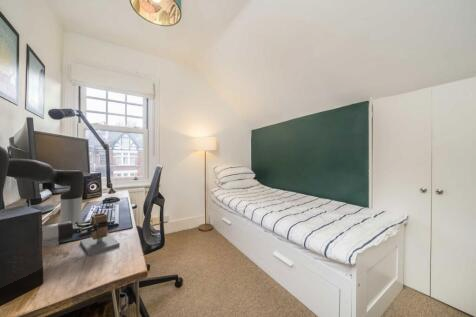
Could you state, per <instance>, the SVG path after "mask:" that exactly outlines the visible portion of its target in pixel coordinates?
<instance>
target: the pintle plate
mask: <svg viewBox="0 0 476 317" xmlns="http://www.w3.org/2000/svg"><path fill="white" fill-rule="evenodd" d="M80 246H81V247H82V248H83V249H84V251H85V253H86V254H87V255H88V257H91V256H94V255H95V256H96V255H98V254H100V253H104V252H106V251H110V250H112V249H116V248H119V247H120V246H121V245H120V242H119V241H118V240H116V238H115V237H113V236H112V235H111V234H110V233H109V232H107V237H103V238H99V239H95V240H94V239H93V238H92V237H88V238H84V239H81V240H80Z"/></svg>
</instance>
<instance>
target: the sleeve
mask: <svg viewBox="0 0 476 317" xmlns="http://www.w3.org/2000/svg"><path fill="white" fill-rule="evenodd" d="M90 217H91V218H90V219H91V223H92V224H95V223H101V222H105V221H108V220H109V218H108V217H109V216H108V213H106V212H102V213H95V214H91V216H90ZM108 222H109V221H108ZM108 226H109V225H108ZM108 226H106V227H102V228H98V230H97V231H94V232H91V233H90V234H91V235H90V236H91V237H92V238H93V239H94V240H95V239H99V238H103V237H107V233H108ZM93 228H94V227H93ZM91 237H90V238H91Z"/></svg>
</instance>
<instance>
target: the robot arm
mask: <svg viewBox="0 0 476 317" xmlns="http://www.w3.org/2000/svg"><path fill="white" fill-rule="evenodd" d="M7 177H9V178H15V179H21V180H26V181H32V182H40V183H41V182H42V183H51V184H55V185H57V186H60V187H69V190H68V191H65V192H62V193H60V196H59V197H60V198H59V199H60V202H59V203H60V214H59V215H60V218H59V219H60V222H57V223H52V224H47V225H43V226H41V227H42V231H43V246H49V245H53V244H57V243H61V242H64V241H69V240H72V239H73V237H74V236H73V235H77V234H78V235H79V234H80V236H84V235H87V234H91V232H94V231H97V230H98V228H102V227H106V226H109V221H105V222H101V223H95V224H92V223H91V218H90V219H86V220H83V193H84V183H85V182H84V181H85V177H84V173H83V171H82V170H80V169H79V170H78V169H77V170H76V169H74V170H73V169H72V170H69V169H68V170H67V169H66V170H65V169H64V170H63V169H55V168H54V167H53V166H52V165H51V164H48V163H46V162H44V161H39V160H35V159H29V158H28V159H27V158H10V154H9V153H8V150H7V149H6V148H5V147H3V146H1V145H0V210H2V211H3V193H4V189H5V185H6V179H7ZM93 227H94V228H93ZM43 246H42V247H43Z"/></svg>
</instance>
